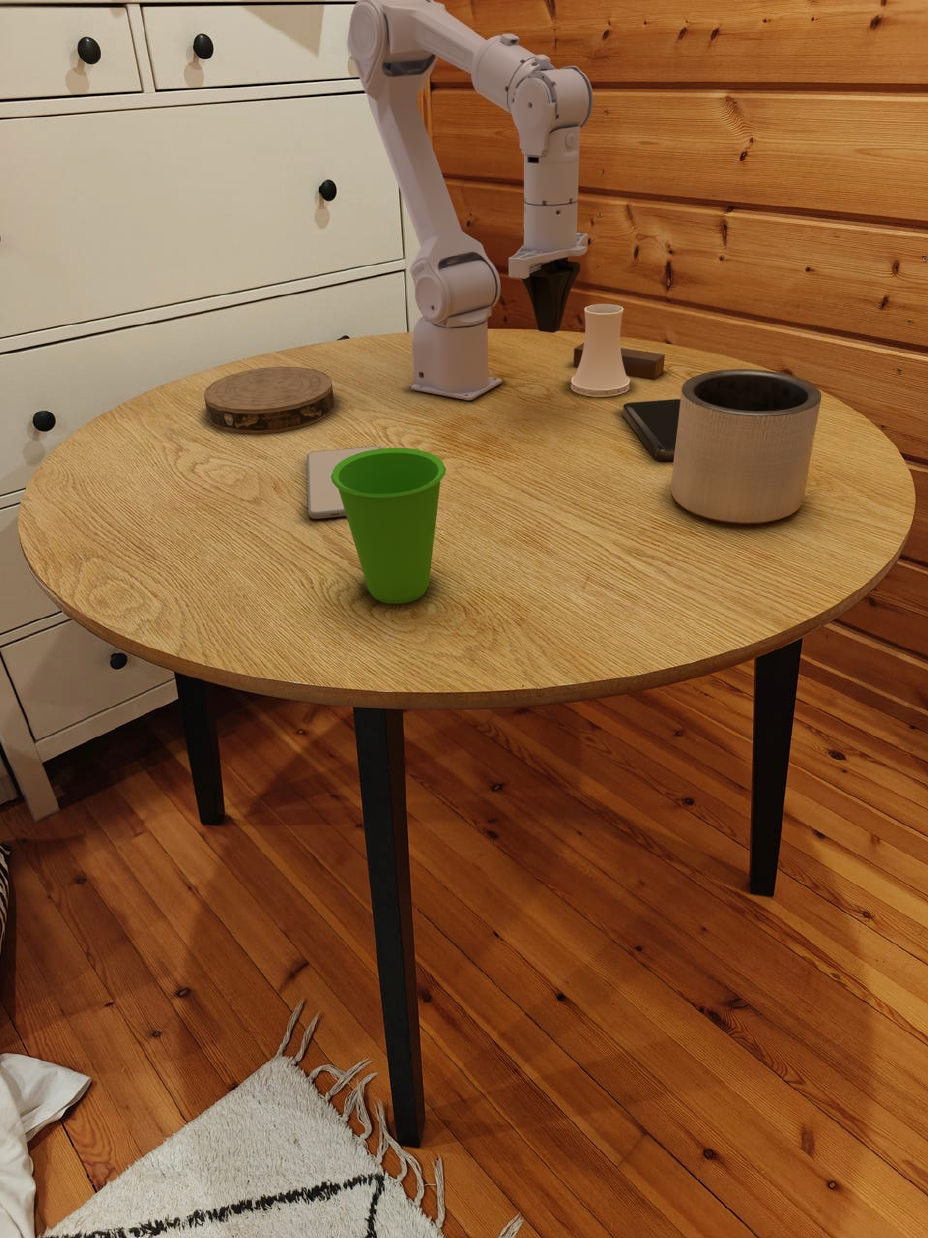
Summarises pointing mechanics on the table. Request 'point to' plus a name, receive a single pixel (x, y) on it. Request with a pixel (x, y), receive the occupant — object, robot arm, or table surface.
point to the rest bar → (634, 362)
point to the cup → (392, 517)
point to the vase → (601, 354)
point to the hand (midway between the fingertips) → (548, 330)
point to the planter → (744, 445)
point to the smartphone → (326, 481)
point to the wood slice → (269, 399)
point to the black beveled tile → (655, 425)
